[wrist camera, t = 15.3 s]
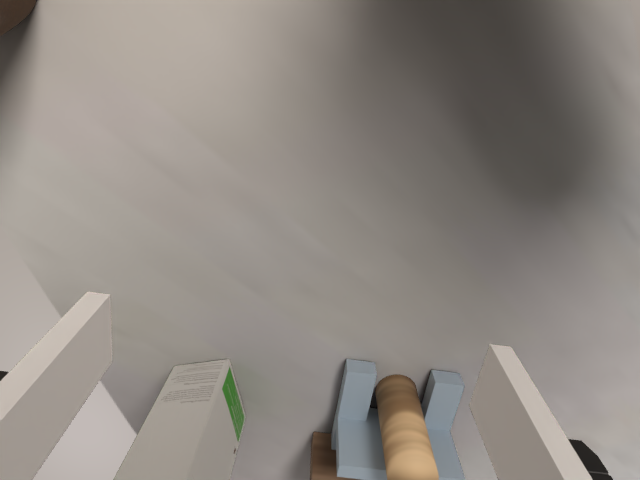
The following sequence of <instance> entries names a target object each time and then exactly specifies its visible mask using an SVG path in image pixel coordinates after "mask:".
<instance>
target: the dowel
mask: <svg viewBox="0 0 640 480" xmlns="http://www.w3.org/2000/svg"><path fill="white" fill-rule="evenodd" d="M375 394H376V401H377V408H378V416H379V423H380V430H381V438H382V445H383V452H384V460H385V467H386V474H387V480H439V474H438V470H437V466H436V462H435V459H434V455H433V451H432V447H431V443H430V439H429V435H428V432H427V428H426V424H425V420H424V416H423V412H422V408H421V405H420V401H419V397H418V393H417V389H416V386H415V383H414V382H413V381H412V380H411V379H410V378H408V377H406V376H403V375H390V376H387V377H385V378H383V379H382V380H381V381H380V382H379V383H378V384H377V386H376V390H375Z"/></svg>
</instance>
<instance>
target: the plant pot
mask: <svg viewBox="0 0 640 480" xmlns="http://www.w3.org/2000/svg"><path fill="white" fill-rule="evenodd" d="M35 3H36V0H0V36H1V35H3V34H4V33H6V32H8V31H9V30H11V29H12V28H13V27H14V26H16V25H17V24H18V23H20V22H21V21H22V20H23V19H24V18H26V17H27V16H28V14H29V13H30V12H31V11H32V9H33V7H34V5H35Z"/></svg>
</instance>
